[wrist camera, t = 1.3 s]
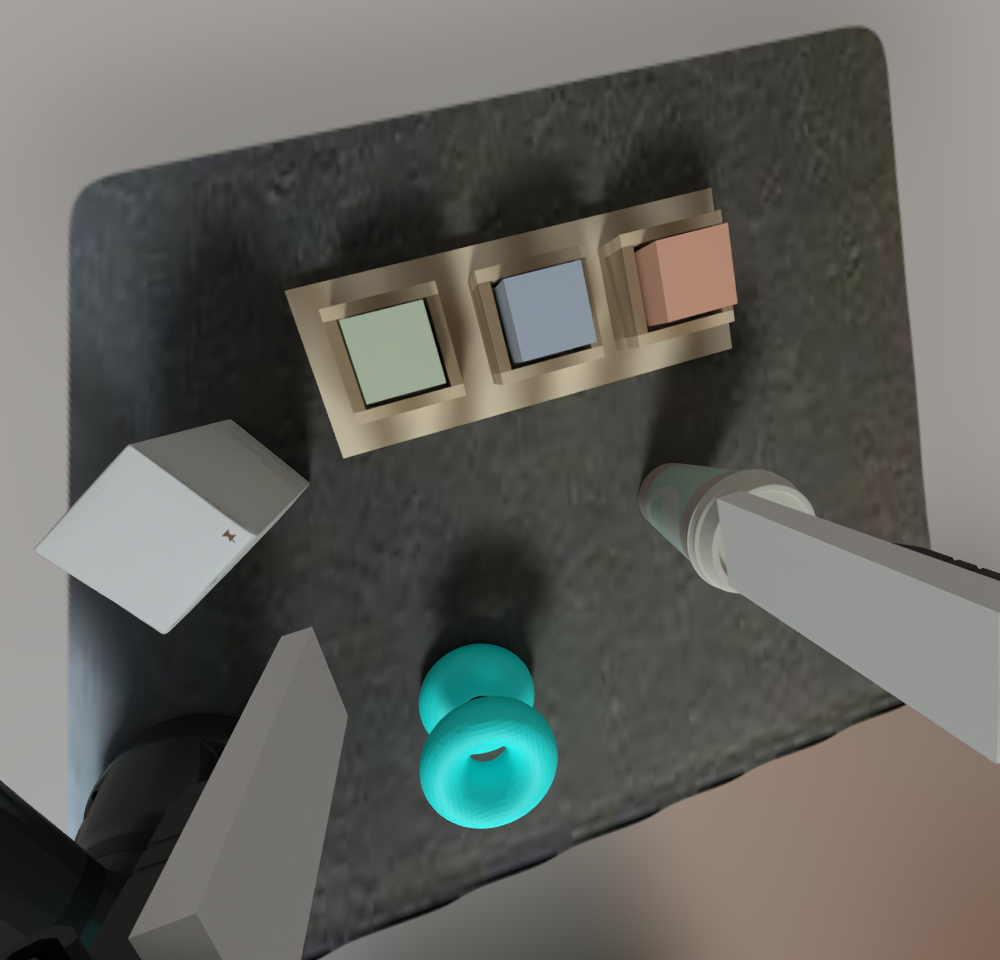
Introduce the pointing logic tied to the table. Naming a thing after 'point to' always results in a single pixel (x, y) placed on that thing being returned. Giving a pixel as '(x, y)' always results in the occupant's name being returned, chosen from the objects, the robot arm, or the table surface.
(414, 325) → the sage button
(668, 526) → the coffee cup
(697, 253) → the terracotta button
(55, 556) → the supplement box
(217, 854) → the robot arm
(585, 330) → the slate button
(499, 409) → the button panel
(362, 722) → the table surface
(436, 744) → the donuts
